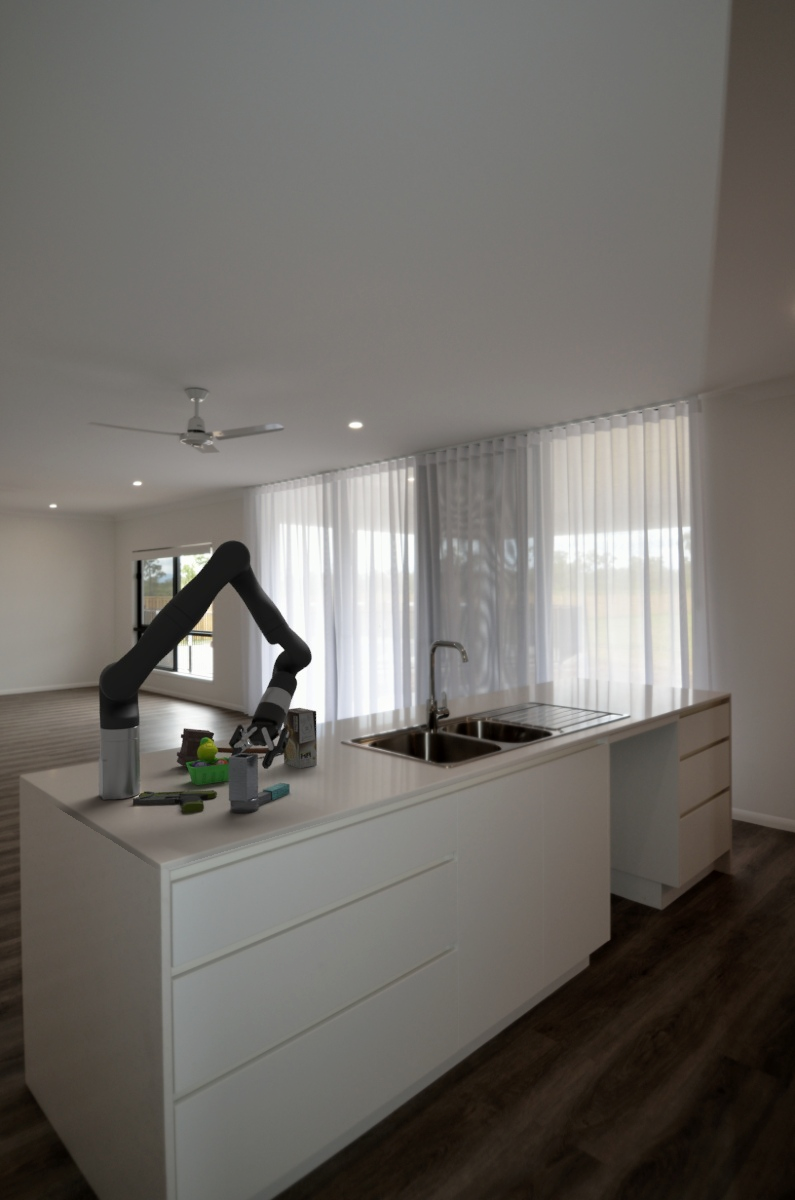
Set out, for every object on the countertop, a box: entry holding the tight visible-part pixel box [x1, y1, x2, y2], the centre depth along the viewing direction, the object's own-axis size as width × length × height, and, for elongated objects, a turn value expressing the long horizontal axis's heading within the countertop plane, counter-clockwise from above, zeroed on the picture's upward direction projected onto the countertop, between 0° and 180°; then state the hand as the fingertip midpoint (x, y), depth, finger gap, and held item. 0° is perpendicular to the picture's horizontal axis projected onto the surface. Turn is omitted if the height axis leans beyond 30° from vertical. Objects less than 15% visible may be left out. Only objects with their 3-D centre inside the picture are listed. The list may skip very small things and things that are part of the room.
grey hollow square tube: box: [228, 753, 259, 802], centre depth 160 cm, size 5×5×10 cm
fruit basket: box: [186, 737, 229, 786], centre depth 186 cm, size 11×9×11 cm
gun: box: [132, 789, 218, 814], centre depth 165 cm, size 2×19×15 cm
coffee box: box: [283, 707, 318, 769], centre depth 203 cm, size 9×6×16 cm
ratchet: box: [229, 782, 291, 815], centre depth 165 cm, size 19×6×6 cm, turn 152°
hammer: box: [176, 727, 269, 767], centre depth 208 cm, size 7×33×10 cm, turn 124°
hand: (248, 765), depth 162 cm, fingers open, 8 cm apart
